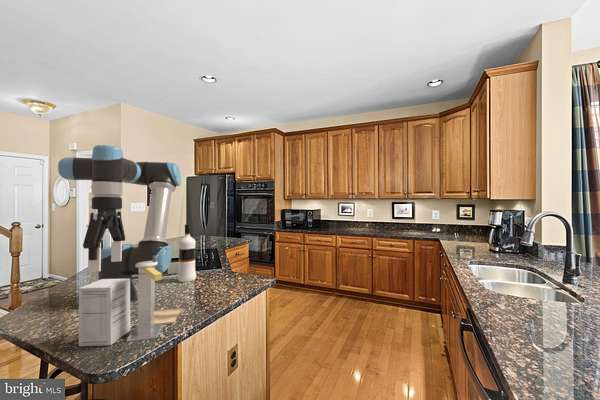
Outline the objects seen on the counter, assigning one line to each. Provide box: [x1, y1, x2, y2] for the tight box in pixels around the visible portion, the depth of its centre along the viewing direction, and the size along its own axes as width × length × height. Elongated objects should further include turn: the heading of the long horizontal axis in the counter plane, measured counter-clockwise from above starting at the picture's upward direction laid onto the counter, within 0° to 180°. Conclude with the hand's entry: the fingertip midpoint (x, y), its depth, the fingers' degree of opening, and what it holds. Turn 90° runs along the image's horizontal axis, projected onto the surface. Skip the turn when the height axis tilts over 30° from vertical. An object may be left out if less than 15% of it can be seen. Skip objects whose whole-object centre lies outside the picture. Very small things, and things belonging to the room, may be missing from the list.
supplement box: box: [78, 279, 131, 347], centre depth 78 cm, size 10×9×17 cm
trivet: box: [134, 307, 182, 329], centre depth 91 cm, size 12×12×1 cm
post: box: [126, 274, 165, 343], centre depth 81 cm, size 8×8×19 cm
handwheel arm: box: [136, 255, 163, 282], centre depth 77 cm, size 6×16×5 cm, turn 43°
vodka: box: [176, 223, 197, 283], centre depth 137 cm, size 9×9×30 cm
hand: (106, 266), depth 78 cm, fingers open, 13 cm apart
